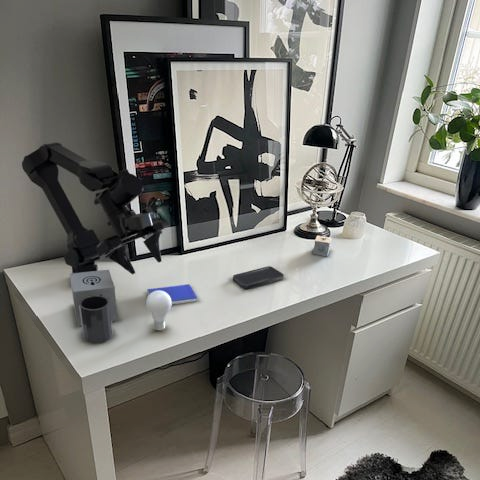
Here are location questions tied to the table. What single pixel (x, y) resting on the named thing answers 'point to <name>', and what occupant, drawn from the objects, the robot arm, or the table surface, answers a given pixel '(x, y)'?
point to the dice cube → (322, 245)
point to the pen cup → (96, 318)
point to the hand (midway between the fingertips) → (147, 267)
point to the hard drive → (178, 293)
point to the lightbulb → (158, 307)
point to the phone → (258, 277)
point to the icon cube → (93, 289)
